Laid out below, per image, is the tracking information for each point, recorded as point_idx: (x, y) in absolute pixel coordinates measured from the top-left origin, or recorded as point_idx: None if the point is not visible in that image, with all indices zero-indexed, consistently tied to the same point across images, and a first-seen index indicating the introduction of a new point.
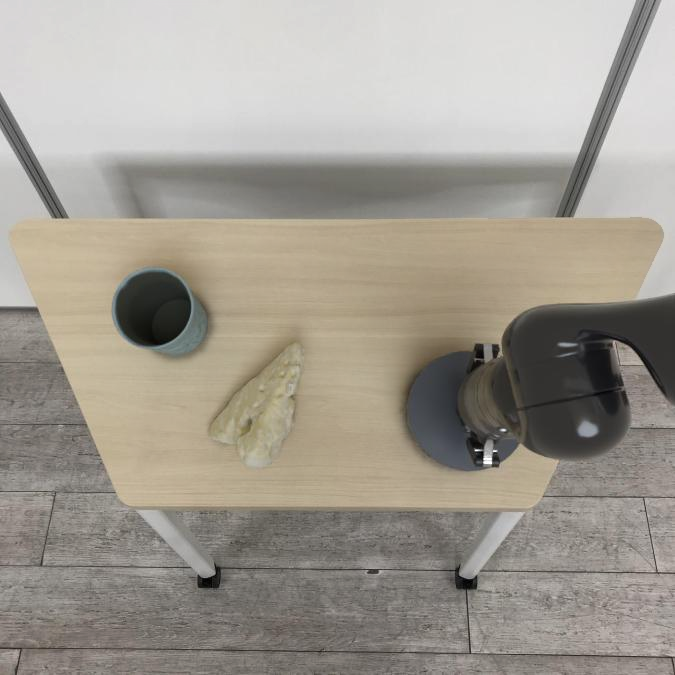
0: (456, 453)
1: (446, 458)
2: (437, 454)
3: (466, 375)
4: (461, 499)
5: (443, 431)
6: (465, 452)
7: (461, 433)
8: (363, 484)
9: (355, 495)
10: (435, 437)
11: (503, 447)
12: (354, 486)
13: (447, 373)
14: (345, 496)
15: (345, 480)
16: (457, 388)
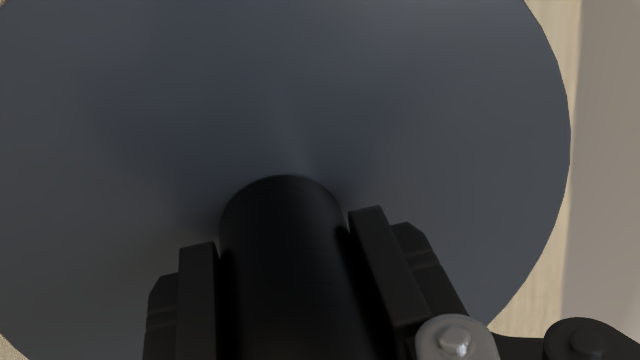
0: (491, 224)
1: (513, 254)
2: (497, 288)
3: (106, 273)
4: (566, 25)
5: None
6: (485, 190)
7: None
8: (515, 298)
9: (543, 306)
10: None
11: (451, 15)
12: (520, 314)
13: (130, 342)
14: (544, 325)
15: (505, 335)
16: None
